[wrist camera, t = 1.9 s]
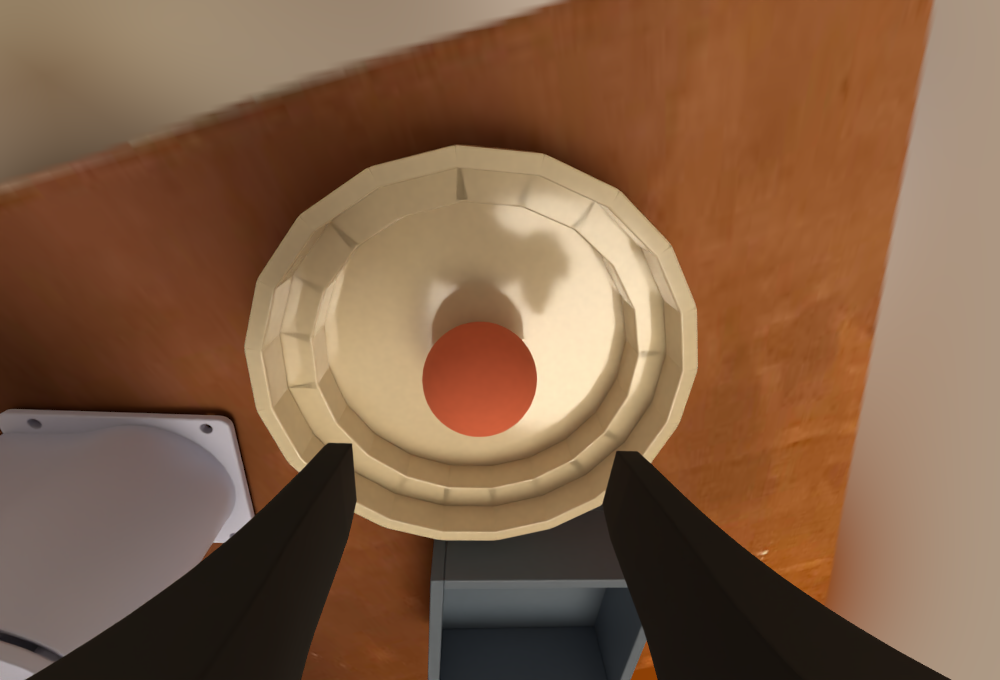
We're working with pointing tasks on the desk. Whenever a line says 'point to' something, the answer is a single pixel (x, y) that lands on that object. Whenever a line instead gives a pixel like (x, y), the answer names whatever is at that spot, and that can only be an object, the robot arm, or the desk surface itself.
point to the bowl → (463, 299)
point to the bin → (533, 607)
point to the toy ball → (479, 379)
